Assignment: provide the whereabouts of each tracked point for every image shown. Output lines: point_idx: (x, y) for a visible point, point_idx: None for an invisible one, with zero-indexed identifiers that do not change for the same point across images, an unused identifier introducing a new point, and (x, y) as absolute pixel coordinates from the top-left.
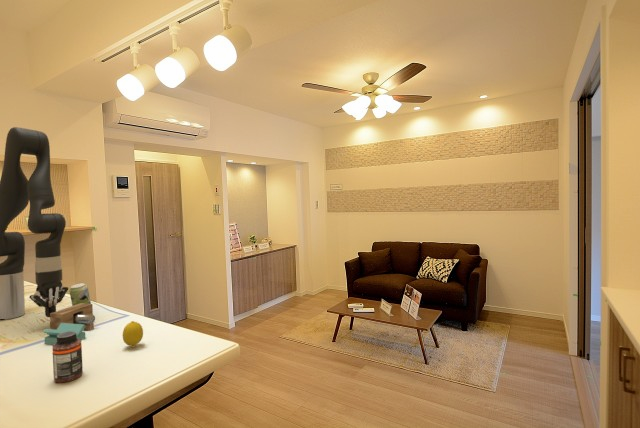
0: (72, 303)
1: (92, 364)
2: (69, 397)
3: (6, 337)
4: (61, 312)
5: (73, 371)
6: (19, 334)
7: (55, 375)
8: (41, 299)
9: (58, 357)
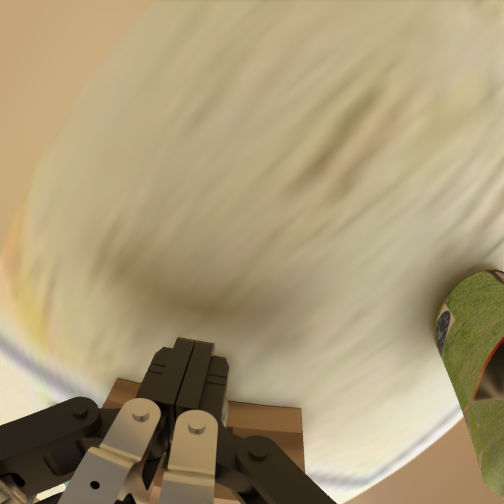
0: (476, 341)
1: (63, 488)
2: None
3: (28, 192)
4: None
5: None
6: (67, 224)
7: None
8: (37, 488)
9: None
